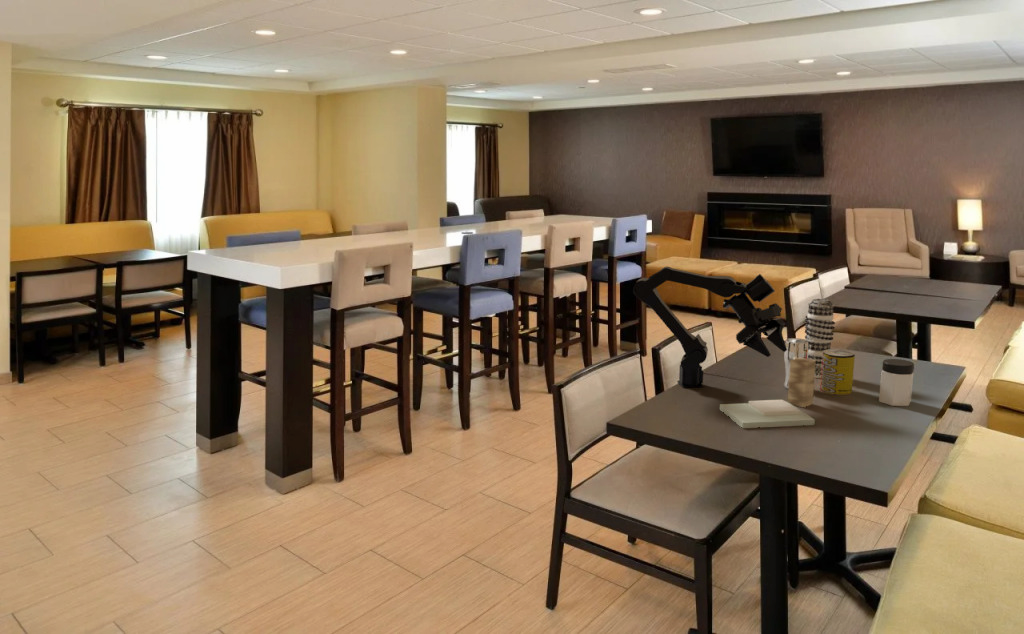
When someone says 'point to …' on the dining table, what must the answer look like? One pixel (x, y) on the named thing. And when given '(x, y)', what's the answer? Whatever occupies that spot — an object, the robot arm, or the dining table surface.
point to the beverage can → (837, 371)
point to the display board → (766, 414)
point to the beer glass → (794, 354)
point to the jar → (896, 382)
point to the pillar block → (801, 382)
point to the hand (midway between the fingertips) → (777, 353)
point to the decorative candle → (819, 330)
